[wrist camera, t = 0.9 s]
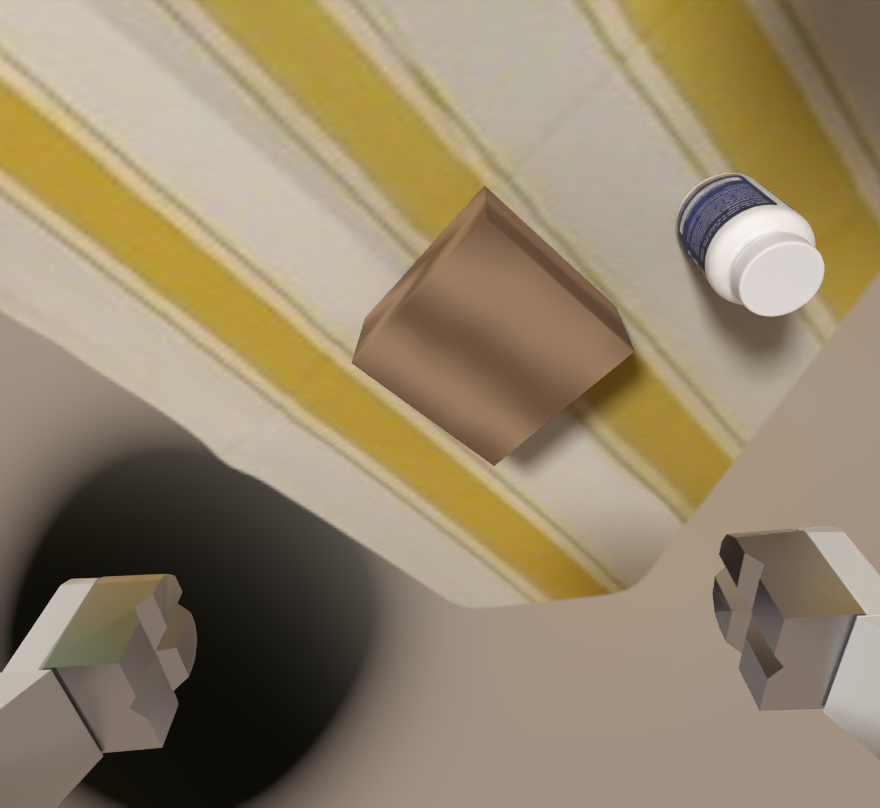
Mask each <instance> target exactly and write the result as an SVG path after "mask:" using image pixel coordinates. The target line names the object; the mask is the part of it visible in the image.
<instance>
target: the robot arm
mask: <svg viewBox="0 0 880 808" xmlns="http://www.w3.org/2000/svg"><path fill="white" fill-rule="evenodd" d="M719 555H720V557H721V559H722V561H723V562H724V564H725V566H726V567H725V568H724V569H723V570H722V571H721V572H720V573H719V574H717V575H716V576H715V580H714V588H713V601H714V610H715V614H716V618H717V621H718V624H719V627H720V629H721V632H722V634H723V636H724V638H725V640H726V642H727V643H729V644H730V645H732V646H733V647H735V648H736V649H737V650H739V651H740V652H741V653H742V656H741V661H740V665H739V670H740V672H741V673H742V676H743V678H744V680H745V682H746V684H747V686H748V688H749V690H750V692H751V694H752V696H753V698H754V700H755V702H756V704H757V707H758V709H759V710H760V711H761V710H791V709H820V708H824V710H823V712H824V713H825V714H827V715H828V716H829V717H830V718H831V719H832V720H834V721H835V722H836V723H837V724H838V725H839V726H840V727H842V728H843V729H844V730H845V731H846V732H848V733H849V734H850V735H851V736H852V737H853V738H855V739H856V740H857V741H858V742H859V743H860V744H862V745H863V746H864V747H865V748H866V749H868V750H869V751H870V752H871V753H872V754H873V755H875V756H876V757H877V758H878V759H879V760H880V575H879V574H878V573H877V571H876V570H875V569H874V568H873V567H872V565H871V564H870V563H869V562H868V561H867V559H866V558H865V557H864V556H863V555H862V553H861V552H860V551H859V550H858V549H857V548H856V546H855V545H854V544H853V542H852V541H851V540H850V539H849V538H848V537H847V535H846V534H845V533H844V532H843V531H842V530H841V529H839V528H838V527H836V526H834V525H831V526H819V527H808V528H797V529H785V530H773V531H760V532H747V533H735V534H727V535H726V536H725V537H724V539H723V541H722V543H721V548H720V553H719ZM181 593H182V591H181V589H180V586H179V584H178V582H177V580H176V578H175V576H172V575H168V574H157V575H135V576H116V577H115V576H113V577H103V578H85V579H70V580H69V581H67V582H65V583H64V584H62V585H61V586H60V587H59V588H58V590H57V591H56V593H55V595H54V596H53V597H52V599H51V600H50V602H49V604H48V605H47V606H46V608H45V609H44V611H43V612H42V614H41V615H40V617H39V618H38V620H37V621H36V623H35V624H34V626H33V627H32V629H31V630H30V632H29V633H28V635H27V636H26V638H25V639H24V641H23V642H22V644H21V645H20V647H19V648H18V650H17V651H16V653H15V654H14V656H13V657H12V659H11V660H10V662H9V663H8V665H7V666H6V668H5V669H4V671H3V672H2V673H0V808H55V807H57V806H58V804H59V803H60V802H61V801H62V800H63V799H64V798H65V797H66V796H67V795H68V794H69V793H70V792H71V790H72V789H73V788H74V787H75V786H76V785H77V784H78V783H79V782H80V781H81V780H82V779H83V777H84V776H85V775H86V774H87V773H88V772H89V771H90V770H91V769H92V767H94V765H95V764H96V763H97V762H98V761H99V760H100V759H101V758H102V757H103V755H102V753H106V752H117V751H128V750H138V749H150V748H161V747H162V746H163V744H164V741H165V738H166V736H167V733H168V730H169V728H170V725H171V722H172V720H173V717H174V715H175V712H176V709H177V707H178V702H177V700H176V697H175V694H174V692H173V691H174V690H175V689H176V688H177V687H178V686H179V685H180V684H181V683H182V682H183V681H184V680H186V679H187V678H188V677H189V674H190V671H191V669H192V665H193V663H194V660H195V653H196V644H197V635H196V628H195V623H194V621H193V618H192V615H191V613H190V612H188V611H187V610H186V609H184V608H183V607H182V606H180V605H179V604H177V603H178V600H179V598H180V595H181Z"/></svg>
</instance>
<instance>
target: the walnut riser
mask: <svg viewBox="0 0 880 808" xmlns="http://www.w3.org/2000/svg"><path fill="white" fill-rule="evenodd" d="M633 352H634V349H633V347H632V344H631V342H630V340H629V337H628V335H627V333H626V330H625V328H624V325H623V323H622V321H621V318H620V316H619V313H618V311H617V309H616V307H615V306H614V305H613V304H612V303H611V302H610V301H609V300H608V299H607V298H606V297H605V296H603V295H602V294H601V293H600V292H599V291H598V290H597V289H596V288H595V287H594V286H593V285H592V284H590V283H589V282H588V281H587V280H586V279H585V278H584V277H583V276H582V275H581V274H580V273H579V272H577V271H576V270H575V269H574V268H573V267H572V266H571V265H570V264H569V263H568V262H567V261H566V260H564V259H563V258H562V257H561V256H560V255H559V254H558V253H557V252H556V251H555V250H554V249H553V248H551V247H550V246H549V245H548V244H547V243H546V242H545V241H544V240H543V239H542V238H541V237H540V236H538V235H537V234H536V233H535V232H534V231H533V230H532V229H531V228H530V227H529V226H528V225H527V224H525V223H524V222H523V221H522V220H521V219H520V218H519V217H518V216H517V215H516V214H515V213H514V212H512V211H511V210H510V209H509V208H508V207H507V206H506V205H505V204H504V203H503V202H502V201H500V200H499V199H498V198H497V197H496V196H495V195H494V194H493V193H492V192H491V191H490V190H489V189H487V188H486V187H485V186H484V187H483V188H482V189H481V190H480V191H479V193H478V194H477V195H476V196H475V197H474V198H473V199H472V200H471V201H470V203H469V204H468V205H467V206H466V207H465V208H464V209H463V210H462V211H461V213H460V214H459V215H458V216H457V217H456V218H455V219H454V220H453V221H452V223H451V224H450V225H449V226H448V227H447V228H446V229H445V230H444V231H443V233H442V234H441V235H440V236H439V237H438V238H437V239H436V240H435V241H434V243H433V244H432V245H431V246H430V247H429V248H428V249H427V250H426V251H425V253H424V254H423V255H422V256H421V257H420V258H419V259H418V260H417V261H416V263H415V264H414V265H413V266H412V267H411V268H410V269H409V270H408V271H407V273H406V274H405V275H404V276H403V277H402V278H401V279H400V280H399V281H398V282H397V284H396V285H395V286H394V287H393V288H392V289H391V290H390V291H389V292H388V294H387V295H386V296H385V297H384V298H383V299H382V300H381V301H380V302H379V304H378V305H377V306H376V307H375V308H374V309H373V310H372V311H371V312H370V314H369V315H368V316H367V317H366V318H365V320H364V324H363V327H362V330H361V334H360V337H359V340H358V344H357V347H356V350H355V354H354V357H353V360H352V364H354V365H355V366H356V367H358V368H359V369H360V370H362V371H363V372H365V373H366V374H367V375H369V376H370V377H372V378H373V379H374V380H376V381H377V382H378V383H380V384H381V385H383V386H384V387H385V388H387V389H388V390H390V391H391V392H392V393H394V394H395V395H396V396H398V397H399V398H401V399H402V400H403V401H405V402H406V403H408V404H409V405H410V406H412V407H413V408H414V409H416V410H417V411H419V412H420V413H421V414H423V415H424V416H426V417H427V418H428V419H430V420H431V421H432V422H434V423H435V424H437V425H438V426H439V427H441V428H442V429H444V430H445V431H446V432H448V433H449V434H450V435H452V436H453V437H455V438H456V439H457V440H459V441H460V442H462V443H463V444H464V445H466V446H467V447H468V448H470V449H471V450H473V451H474V452H475V453H477V454H478V455H480V456H481V457H482V458H484V459H485V460H486V461H488V462H489V463H491V464H492V465H493V466H495V465H496V464H497V463H498V462H500V461H501V460H502V459H503V458H505V457H506V456H507V455H508V454H509V453H511V452H512V451H513V450H514V449H516V448H517V447H518V446H519V445H520V444H522V443H523V442H524V441H525V440H527V439H528V438H529V437H530V436H532V435H533V434H534V433H535V432H536V431H538V430H539V429H540V428H541V427H543V426H544V425H545V424H546V423H547V422H549V421H550V420H551V419H552V418H554V417H555V416H556V415H557V414H559V413H560V412H561V411H562V410H563V409H565V408H566V407H567V406H568V405H570V404H571V403H572V402H573V401H574V400H576V399H577V398H578V397H579V396H581V395H582V394H583V393H584V392H585V391H587V390H588V389H589V388H590V387H592V386H593V385H594V384H595V383H597V382H598V381H599V380H600V379H601V378H603V377H604V376H605V375H606V374H608V373H609V372H610V371H611V370H612V369H614V368H615V367H616V366H617V365H619V364H620V363H621V362H622V361H623V360H625V359H626V358H627V357H628V356H630V355H631V354H632V353H633Z"/></svg>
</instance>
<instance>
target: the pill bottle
mask: <svg viewBox="0 0 880 808" xmlns="http://www.w3.org/2000/svg"><path fill="white" fill-rule="evenodd" d="M675 230H676V235H677V238H678V241H679V243H680V244H681V246H682V248H683V249H684V251H685V252H686V253H687V255H688V256H689V257H690V259H691V260H692V262H693V263H694V265H695V266H696V267H697V269H698V270H699V271H700V272H701V274H702V275H703V276H704V278H705V279H706V280H707V282H708V283H709V285H710V286H711V287H712V288H713V290H714V291H715V292H716V293H717V294H718V295H719V296H721V297H722V298H724V299H725V300H727V301H730V302H732V303H735V304H740V305H744V306H745V307H746V308H747V309H748V310H750V311H751V312H753V313H755V314H758V315H761V316H767V317H773V316H781V315H785V314H788V313H790V312H793V311H795V310H797V309H798V308H800V307H802V306H803V305H804V304H806V303H807V302H808V301H809V300H810V299H811V298H812V297H813V296H814V295H815V293H816V292H817V291H818V289H819V287H820V285H821V283H822V280H823V277H824V269H825V267H824V261H823V258H822V256H821V254H820V253H819V252H818V250H817V249H816V248H815V247H816V244H815V237H814V233H813V231H812V229H811V227H810V225H809V223H808V222H807V221H806V220H805V219H804V218H803V217H802V216H801V215H800V214H799V213H798V212H796V211H795V210H794V209H792V208H791V207H790V206H788V205H787V204H786V203H785V202H783V201H782V200H780V199H779V198H778V197H777V196H775V195H774V194H773V193H771V192H770V191H769V190H768V189H766V188H765V187H764V186H762V185H761V184H760V183H758V182H757V181H755V180H754V179H752V178H751V177H749V176H747V175H744V174H740V173H721V174H717V175H713V176H711V177H709V178H706V179H705V180H703V181H701V182H700V183H698V184H697V185H696V186H694V187H693V188H692V189H691V190H690V191H689V192H688V194H687V195H686V196H685V197H684V199H683V200H682V202H681V204H680V206H679V209H678V212H677V215H676V221H675Z"/></svg>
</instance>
